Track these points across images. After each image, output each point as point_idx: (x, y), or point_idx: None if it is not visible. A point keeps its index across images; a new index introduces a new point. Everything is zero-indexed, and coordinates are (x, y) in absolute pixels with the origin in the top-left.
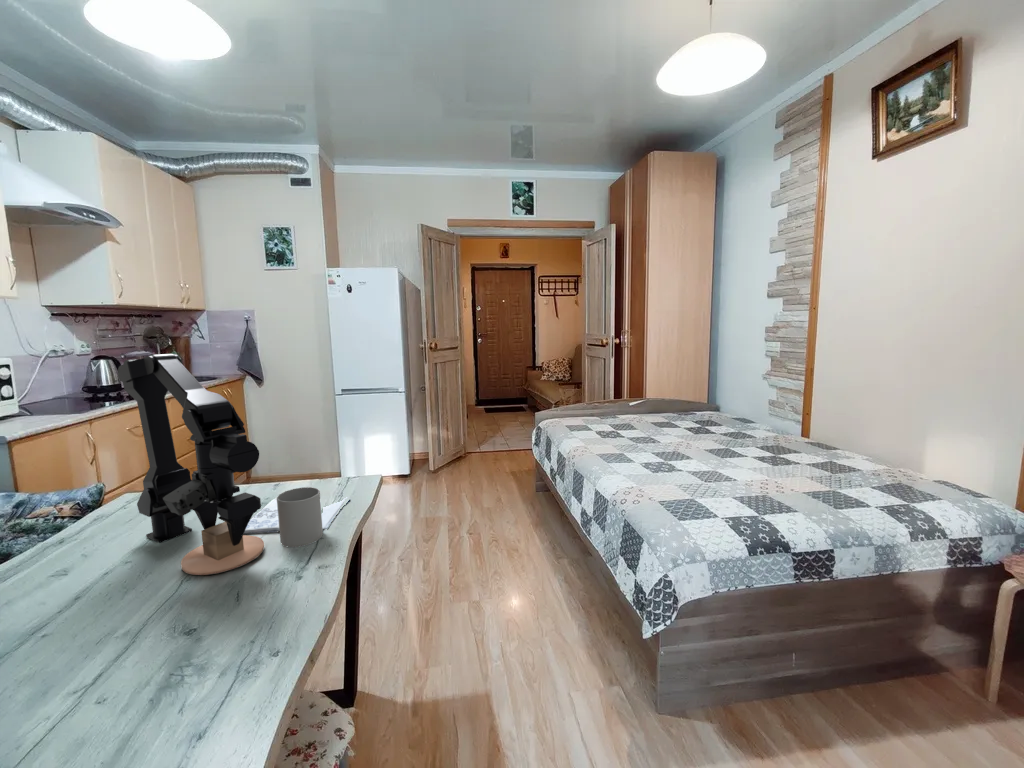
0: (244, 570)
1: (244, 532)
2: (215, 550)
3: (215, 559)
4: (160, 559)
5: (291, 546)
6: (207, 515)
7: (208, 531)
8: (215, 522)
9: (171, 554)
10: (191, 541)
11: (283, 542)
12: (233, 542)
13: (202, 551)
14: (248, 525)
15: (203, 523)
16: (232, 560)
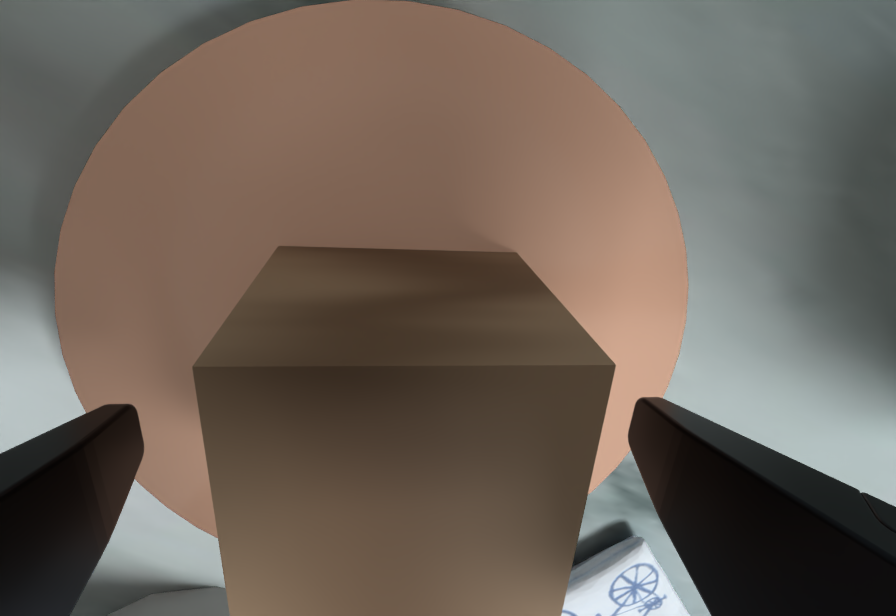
0: (45, 296)
1: (599, 556)
2: (289, 278)
3: (321, 247)
4: (873, 89)
5: (135, 605)
6: (817, 614)
7: (479, 398)
8: (681, 553)
9: (851, 178)
10: (863, 349)
11: (195, 610)
12: (63, 426)
13: (577, 274)
14: (646, 606)
15: (751, 475)
16: (161, 306)
